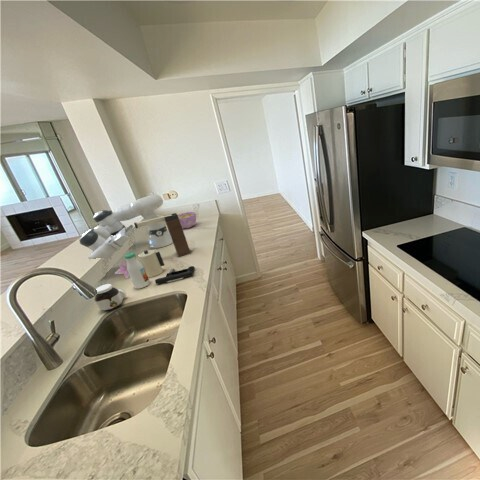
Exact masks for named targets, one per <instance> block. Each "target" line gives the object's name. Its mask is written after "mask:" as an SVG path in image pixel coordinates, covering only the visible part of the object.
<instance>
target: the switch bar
mask: <svg viewBox="0 0 480 480" xmlns="http://www.w3.org/2000/svg"><path fill="white" fill-rule="evenodd" d="M170 214H171V215H172V214H173V213H170ZM165 215H166V216H165ZM165 215H163V216H162V215H161V217H158V218H154V219H150V220H146V221H145V220H142V221H137V222H134V223H133V226H134V228H135V229H140V228H142V227H148V226H147V225H151V224H155V223H159V222H165V218H164V217H167V216H171V215H169V214H165Z"/></svg>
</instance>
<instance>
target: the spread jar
mask: <svg viewBox="0 0 480 480" xmlns="http://www.w3.org/2000/svg"><path fill="white" fill-rule="evenodd" d="M95 289H96V290H97V295H96V294H95V295H96V296H95V295H94V302H95V304H96V306H97V308H98V309H99V310H100V311H102V312H110V311H114V310H116V309H118V308H119V307H120V306H121V305H122V303H123V299H125V298H126V296H127V291H126V290H124V289H120V288H117V287H115V286H113V285H112V284H111V283H106V284H102V285H99V286H97V287H96V288H95Z"/></svg>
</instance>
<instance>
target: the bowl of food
mask: <svg viewBox="0 0 480 480" xmlns="http://www.w3.org/2000/svg"><path fill="white" fill-rule="evenodd" d="M177 215H178V218H179V220H180V223H181V226H182V229H183V230H184V229H190V228H193V226H194V225H196V223H197V212H195V211H187V212H182V213H179V214H177Z"/></svg>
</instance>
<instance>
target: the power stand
mask: <svg viewBox="0 0 480 480" xmlns="http://www.w3.org/2000/svg"><path fill="white" fill-rule="evenodd" d="M171 214H172V215H171ZM166 215H167V214H164V216H166ZM168 215H171V216H167V217H164V218H165V221H164V223H165V226H166V228H167V231H169V233H170V236H171V239H172V241H173V243H172V244H173V247H174V249H175V252H176V255H177V257H178V258H181V257H183V256H187V255H190V254H191V250H190V247H189V244H188V240H187V238H186V234H185V232H184V228H182V226H181V223H180V220H179V218H178V215H179V214H177V212H174V213H169V214H168Z"/></svg>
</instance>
